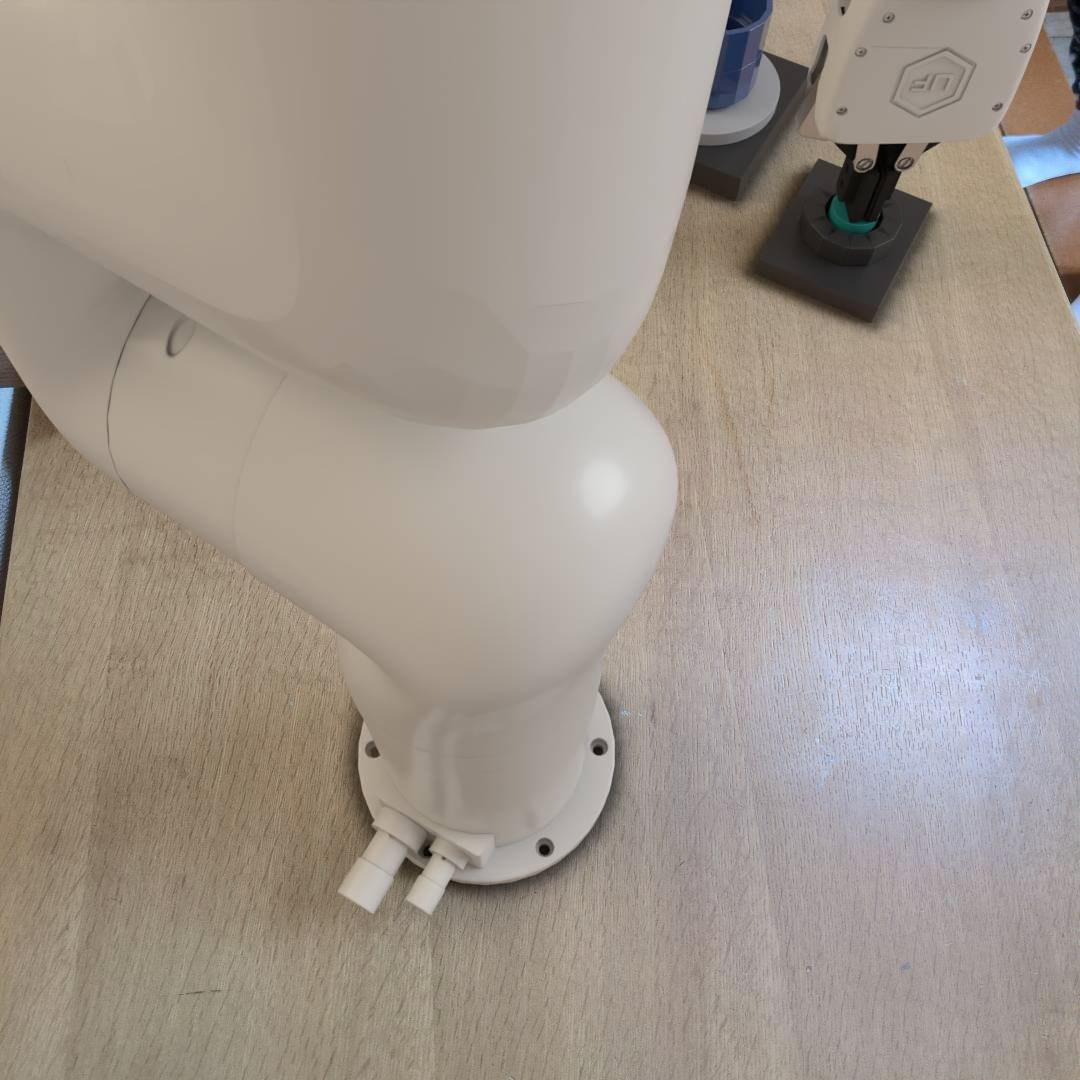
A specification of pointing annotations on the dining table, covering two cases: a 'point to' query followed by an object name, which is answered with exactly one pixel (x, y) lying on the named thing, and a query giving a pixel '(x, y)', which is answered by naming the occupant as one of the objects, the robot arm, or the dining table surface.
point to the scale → (747, 127)
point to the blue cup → (740, 52)
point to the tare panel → (840, 247)
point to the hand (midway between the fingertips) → (857, 204)
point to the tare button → (841, 221)
